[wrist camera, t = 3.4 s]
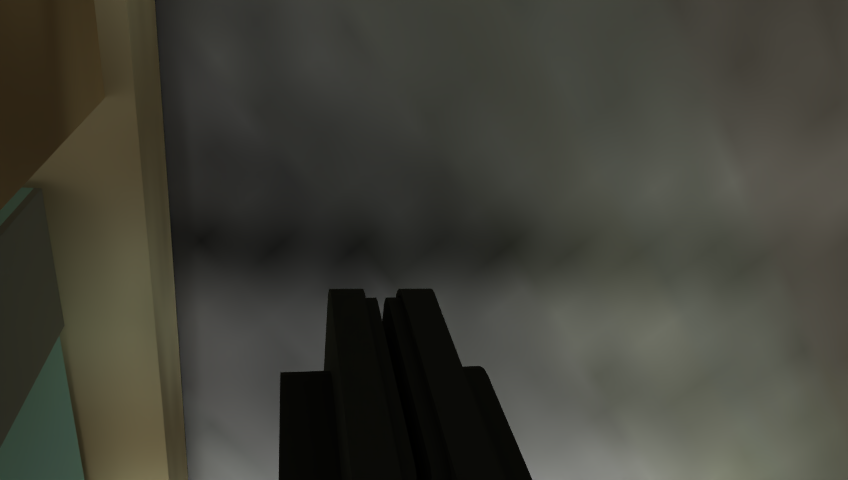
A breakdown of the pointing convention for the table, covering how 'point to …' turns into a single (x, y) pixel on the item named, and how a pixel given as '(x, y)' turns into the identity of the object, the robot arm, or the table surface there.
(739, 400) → the table surface
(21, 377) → the leg
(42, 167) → the seat
